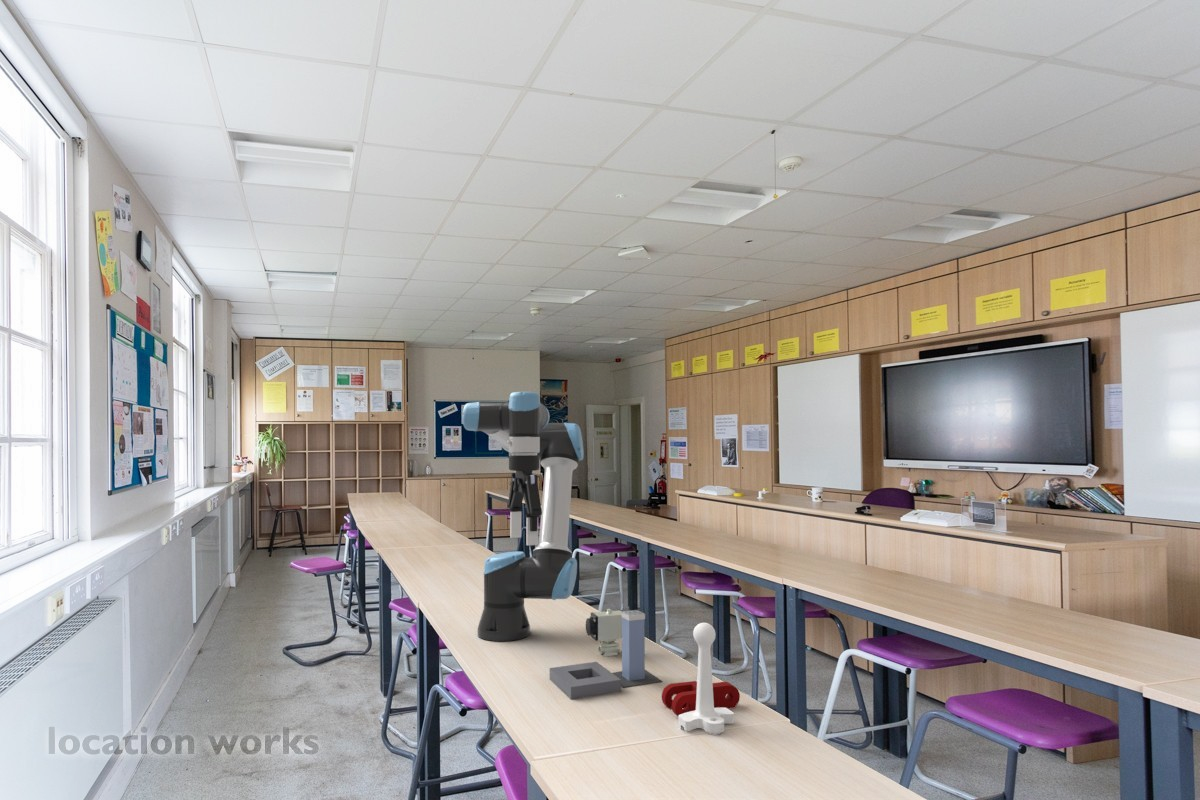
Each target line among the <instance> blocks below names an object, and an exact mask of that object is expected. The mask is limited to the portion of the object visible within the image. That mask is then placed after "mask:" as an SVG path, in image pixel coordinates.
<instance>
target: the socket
mask: <svg viewBox="0 0 1200 800" xmlns="http://www.w3.org/2000/svg"><path fill="white" fill-rule="evenodd" d="M549 681H550V682H551V683H553V684H554V685H555V686H556V687H557V688H558V689H559V691H561V692H562V693H563V694H564V695H565V696H566V697H567V698H569V700H577V699H583V698H589V697H597V696H603V695H609V694H615V693H620V692H622V687H621V679H619V678H618V677H617V676H615V675H614V674H613V672H611V671H610V670H608V668H606V667H604V666H603V665H602V664H600V663H599V662H597V661H591V662H585V663H577V664H570V665H562V666H555V667H549Z"/></svg>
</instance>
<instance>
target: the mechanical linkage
mask: <svg viewBox="0 0 1200 800" xmlns="http://www.w3.org/2000/svg"><path fill="white" fill-rule="evenodd" d="M712 684H713V700H714V708H722V707H724V708H727V709H729V710H730V709H734V708H736V706H737V705H738V704H739V702H740V698H741V695H740V694H741V693H740V691H739V690H738V688H737V687H736V686H735V685H733V684H732V683H730V682H729V681H720V682H719V681H718V682H712ZM696 694H697V680H692V681H690V680H689V681H682V682H673V683H669V684H668V685H666V686H665V687H663V690H662V692H661V701H662V703H663V705H664V706H666V708H668V709H669V710H671V709H672V710H671V711H672V712H673V713H674V715H675V716H676V717H678V715H680V714H683V713H686V712H690V711H694V710H696ZM674 695H675V696H674ZM673 696H674V697H673ZM682 708H683V709H682Z"/></svg>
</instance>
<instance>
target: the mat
mask: <svg viewBox="0 0 1200 800" xmlns="http://www.w3.org/2000/svg"><path fill="white" fill-rule="evenodd" d="M612 673H613V674H614V675H615V676H617V677H618V678H619V679H621V688H622V689H625V688H626V689H627V688H631V687H638V686H644V685H645V686H646V685H651V684H658V683H662V682H663V680H662V679H660V678H659V677H657V676H655V675H654V674H653V673H651V672H649V671H648V670H646V669H645V679H639V680H632V681H629V680H627V679H626V678H625V677H623V676H622V670H621V671H614V672H612Z"/></svg>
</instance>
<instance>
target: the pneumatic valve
mask: <svg viewBox="0 0 1200 800" xmlns="http://www.w3.org/2000/svg"><path fill="white" fill-rule="evenodd" d="M623 611H624V610H622V609H619V610H618V609H617V610H612V609H611V608H607V610H606V611H596V612H595V611H593V612H590V616H589V617H587V618H586V620H585V632H586V635H587V636H589V637H591V638H592V639H593V640H594V641H595V642H600V641H601V642H600V644H599V645H598V654H599V655H602V657H613V656H618V655H619V654H618V653H620V651H621V647H620V643H618V642H616V641H617V640H619V639H620V640H622V617H621V612H623Z"/></svg>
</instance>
